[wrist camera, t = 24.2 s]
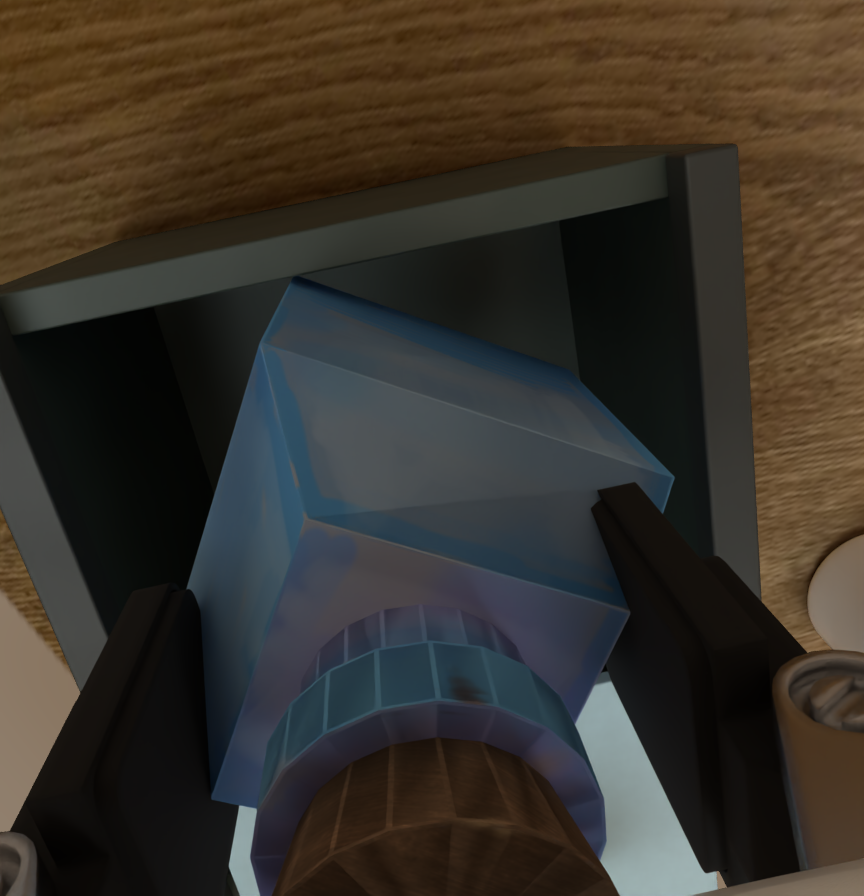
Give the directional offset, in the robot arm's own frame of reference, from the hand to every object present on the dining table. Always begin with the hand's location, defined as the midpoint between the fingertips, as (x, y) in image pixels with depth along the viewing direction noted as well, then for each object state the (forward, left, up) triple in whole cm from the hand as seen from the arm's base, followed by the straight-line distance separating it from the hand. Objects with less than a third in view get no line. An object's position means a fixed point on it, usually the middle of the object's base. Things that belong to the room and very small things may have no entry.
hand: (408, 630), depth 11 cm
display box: (-3, 0, -17) cm, 17 cm away
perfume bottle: (0, 0, -7) cm, 7 cm away
